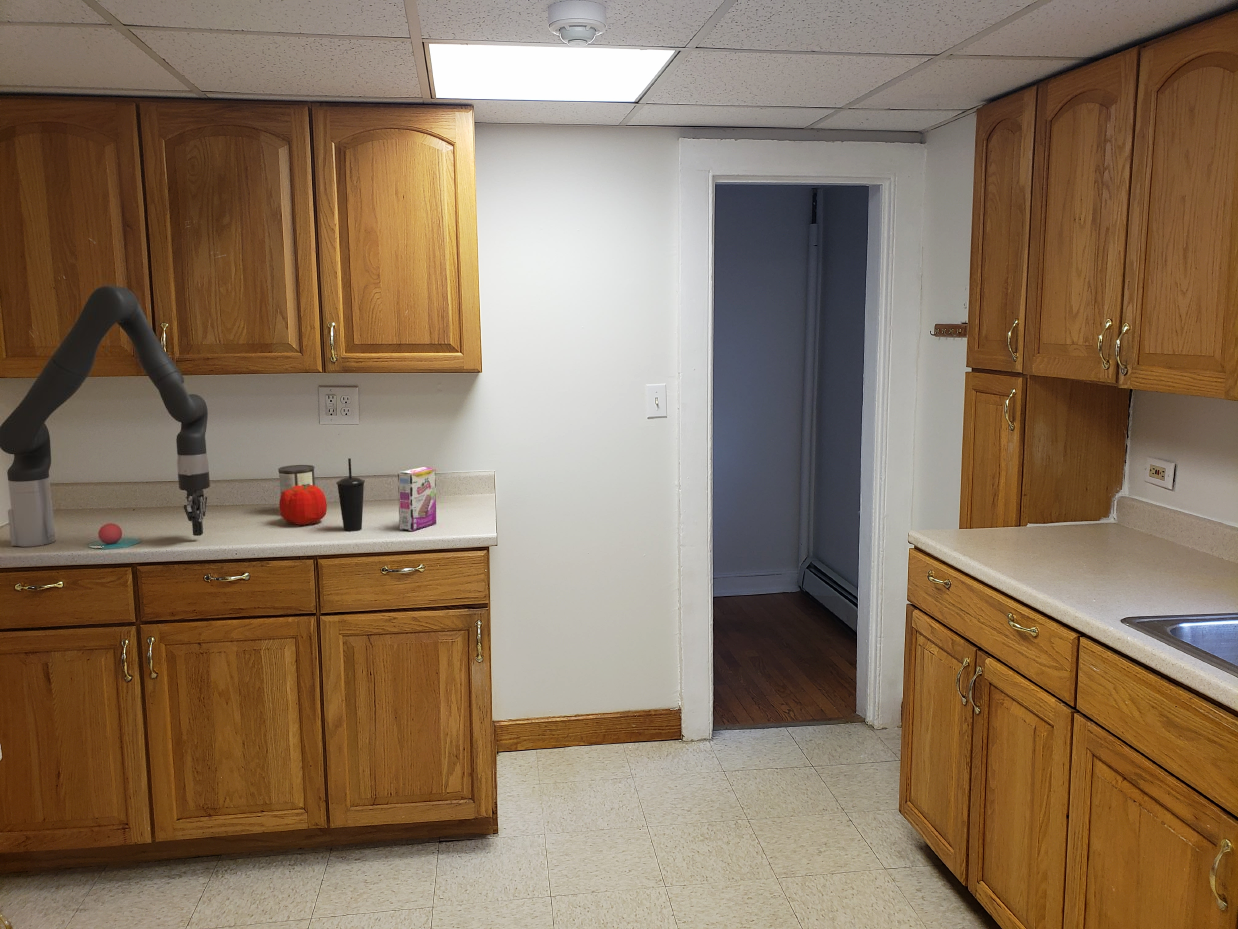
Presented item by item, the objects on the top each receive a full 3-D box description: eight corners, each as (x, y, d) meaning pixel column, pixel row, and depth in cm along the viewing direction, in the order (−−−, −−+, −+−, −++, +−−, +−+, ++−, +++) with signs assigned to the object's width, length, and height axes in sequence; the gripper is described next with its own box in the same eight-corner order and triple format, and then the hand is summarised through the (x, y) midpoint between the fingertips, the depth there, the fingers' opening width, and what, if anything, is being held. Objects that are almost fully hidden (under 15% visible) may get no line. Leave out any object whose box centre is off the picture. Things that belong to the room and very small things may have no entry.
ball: (122, 534, 246) (108, 550, 246) (129, 530, 252) (116, 545, 252) (104, 521, 245) (90, 537, 245) (111, 517, 250) (98, 532, 251)
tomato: (287, 518, 280) (285, 483, 278) (333, 517, 280) (331, 482, 279) (273, 528, 266) (271, 491, 264) (321, 527, 267) (319, 491, 265)
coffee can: (294, 509, 293) (291, 464, 290) (323, 510, 290) (321, 465, 288) (273, 516, 283) (270, 469, 281) (304, 517, 280) (301, 470, 278)
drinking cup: (365, 531, 261) (362, 460, 258) (337, 533, 260) (333, 461, 257) (368, 525, 269) (365, 456, 266) (340, 527, 268) (336, 456, 264)
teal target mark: (80, 550, 243) (80, 549, 243) (99, 539, 254) (99, 538, 254) (130, 548, 244) (130, 547, 244) (146, 537, 256) (146, 536, 256)
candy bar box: (413, 532, 261) (411, 473, 258) (398, 530, 263) (396, 472, 261) (438, 524, 271) (436, 467, 268) (423, 522, 273) (421, 466, 271)
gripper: (185, 467, 255) (190, 530, 258) (170, 475, 242) (175, 541, 245) (215, 466, 256) (219, 529, 259) (201, 474, 243) (206, 540, 246)
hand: (198, 535), depth 252 cm, fingers closed
